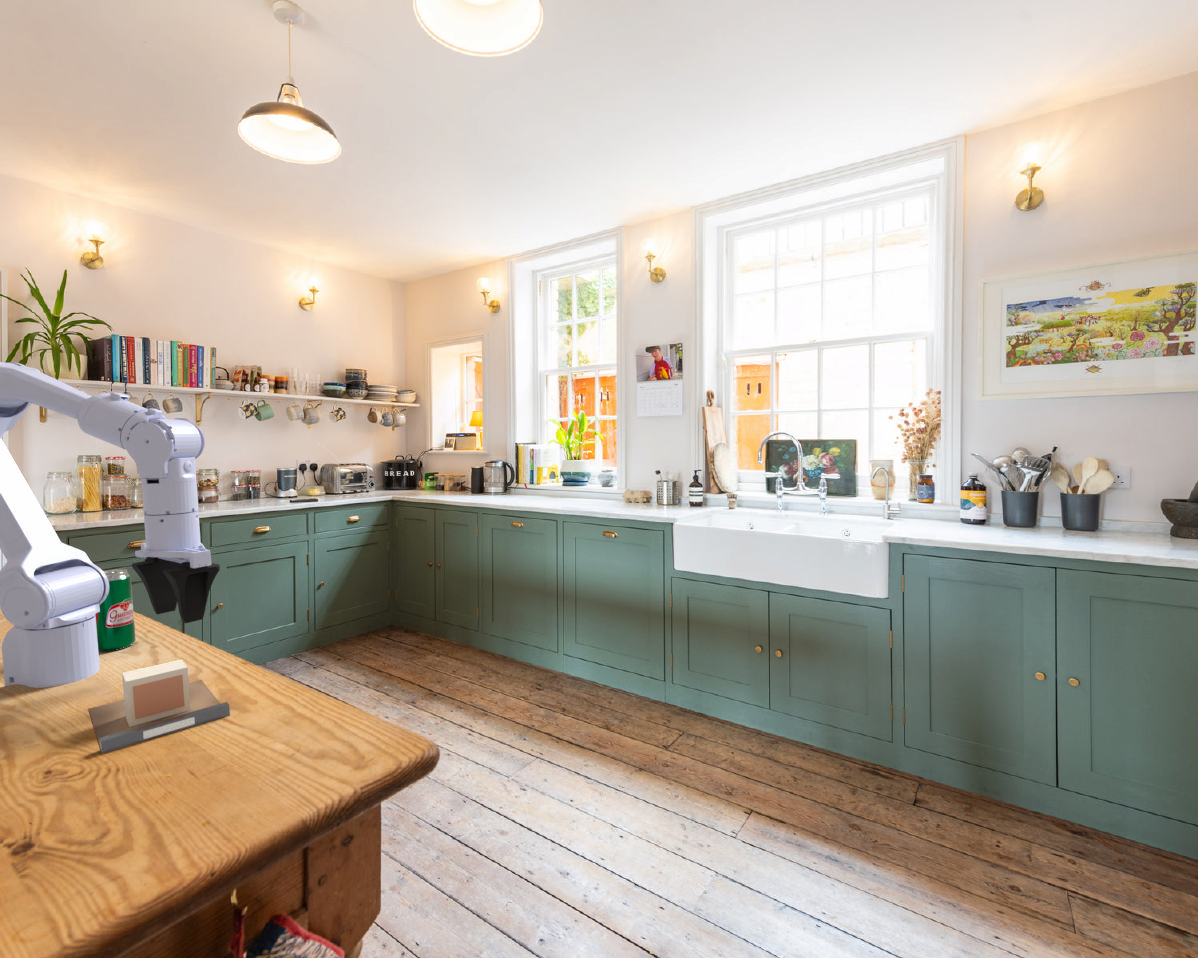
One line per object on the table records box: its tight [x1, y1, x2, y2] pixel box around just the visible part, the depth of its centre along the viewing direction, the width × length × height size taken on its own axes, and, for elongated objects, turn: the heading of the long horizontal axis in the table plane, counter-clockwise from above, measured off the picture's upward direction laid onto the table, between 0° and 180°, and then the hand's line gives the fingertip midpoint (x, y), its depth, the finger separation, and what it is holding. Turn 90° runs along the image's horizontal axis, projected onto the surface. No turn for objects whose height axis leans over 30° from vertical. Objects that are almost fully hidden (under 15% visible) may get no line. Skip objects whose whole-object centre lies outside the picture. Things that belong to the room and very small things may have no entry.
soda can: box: [95, 568, 136, 652], centre depth 93 cm, size 5×5×12 cm
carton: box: [122, 658, 191, 727], centre depth 67 cm, size 6×4×5 cm, turn 134°
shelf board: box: [88, 679, 231, 754], centre depth 67 cm, size 11×14×2 cm
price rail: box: [99, 701, 231, 754], centre depth 62 cm, size 11×1×1 cm, turn 135°
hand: (179, 616), depth 77 cm, fingers open, 7 cm apart
